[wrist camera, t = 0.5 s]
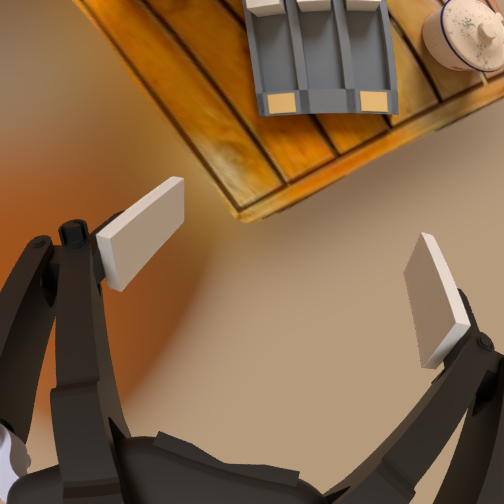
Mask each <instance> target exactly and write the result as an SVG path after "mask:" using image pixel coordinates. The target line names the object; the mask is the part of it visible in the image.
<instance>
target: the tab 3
mask: <svg viewBox="0 0 504 504" xmlns="http://www.w3.org/2000/svg"><path fill="white" fill-rule="evenodd" d="M380 2H381V0H345V6H346V11H374V12H375V11H376V9H377V7H378V6H379V4H380Z"/></svg>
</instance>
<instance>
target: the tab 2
mask: <svg viewBox="0 0 504 504" xmlns="http://www.w3.org/2000/svg"><path fill="white" fill-rule="evenodd" d="M297 3H298V5H299V7H300V9H301V12H312V11H331V0H297Z"/></svg>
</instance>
